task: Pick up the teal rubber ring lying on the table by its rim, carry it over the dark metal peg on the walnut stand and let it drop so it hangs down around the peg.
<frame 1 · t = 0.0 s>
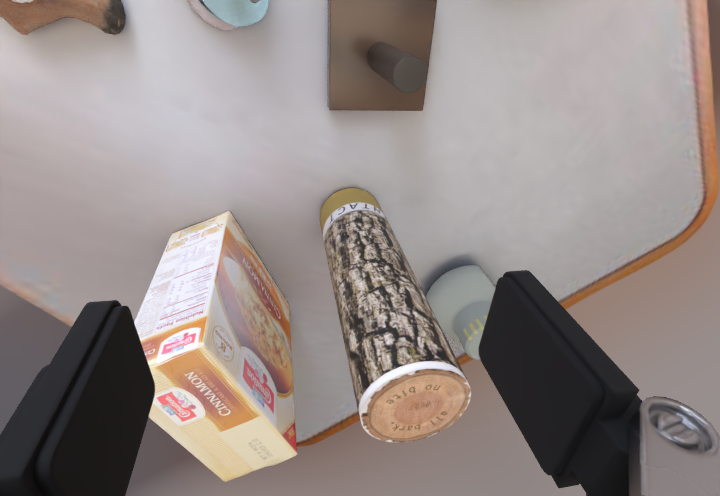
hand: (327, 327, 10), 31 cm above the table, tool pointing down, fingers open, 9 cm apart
patterned cylinder: (349, 212, 44), on the table
coffeecake box: (235, 271, 46), on the table
peg stand: (377, 55, 36), on the table
air freshener: (456, 288, 53), on the table
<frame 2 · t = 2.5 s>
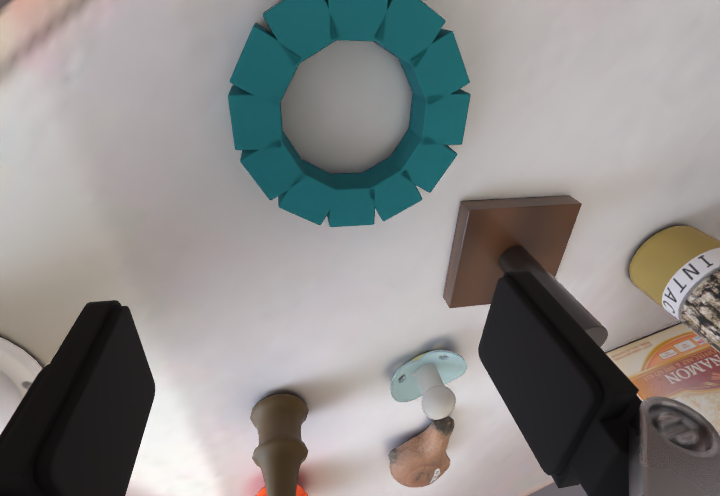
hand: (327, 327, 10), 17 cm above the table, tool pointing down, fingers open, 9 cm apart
patterned cylinder: (657, 253, 36), on the table
coffeecake box: (660, 346, 44), on the table
kendama: (279, 405, 38), on the table
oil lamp: (420, 437, 45), on the table
pacifier: (424, 365, 38), on the table
peg stand: (503, 248, 32), on the table
ring: (347, 110, 24), on the table
clementine: (279, 485, 45), on the table
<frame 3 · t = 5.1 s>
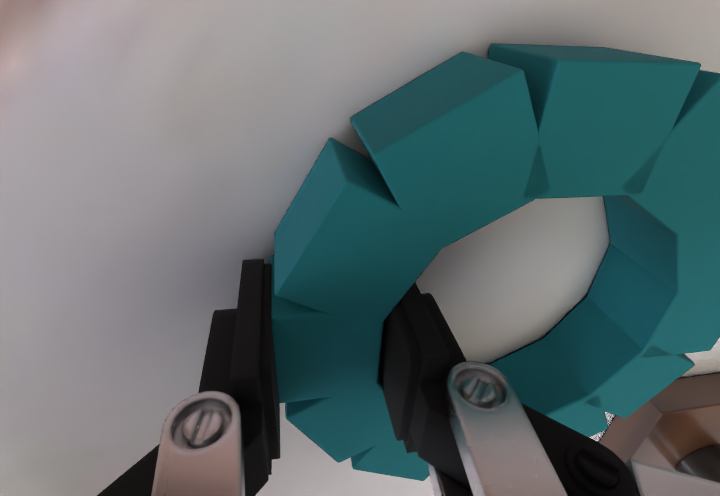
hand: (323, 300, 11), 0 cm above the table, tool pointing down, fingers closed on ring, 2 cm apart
peg stand: (673, 431, 21), on the table
ring: (486, 278, 13), on the table, touching gripper
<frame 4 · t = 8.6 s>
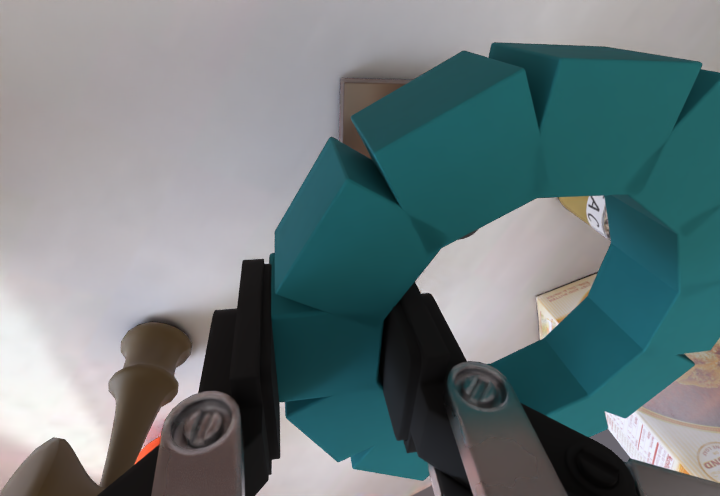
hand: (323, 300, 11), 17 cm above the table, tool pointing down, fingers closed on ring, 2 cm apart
patterned cylinder: (590, 170, 32), on the table
coffeecake box: (604, 291, 40), on the table
kendama: (159, 338, 33), on the table
peg stand: (402, 148, 28), on the table
ring: (486, 278, 13), point 17 cm above the table, touching gripper
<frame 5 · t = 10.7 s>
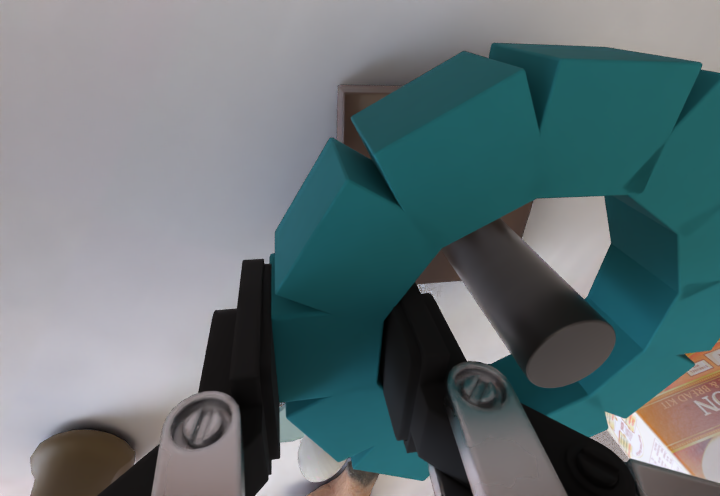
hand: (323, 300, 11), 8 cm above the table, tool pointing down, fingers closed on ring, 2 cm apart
coffeecake box: (682, 355, 31), on the table
kendama: (90, 445, 24), on the table
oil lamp: (337, 482, 31), on the table
pacifier: (324, 382, 25), on the table
peg stand: (430, 187, 19), on the table
ring: (486, 278, 13), point 7 cm above the table, touching gripper
when the fingers open (2 cm above the table, at t = 12.6 s): ring stays where it is, resting on peg stand.
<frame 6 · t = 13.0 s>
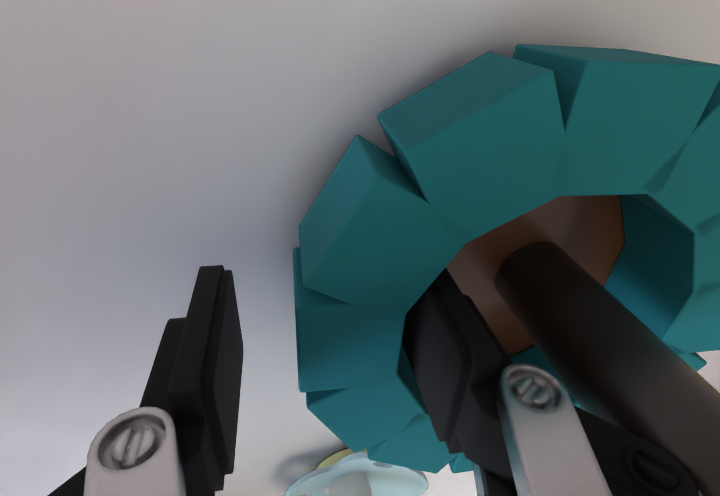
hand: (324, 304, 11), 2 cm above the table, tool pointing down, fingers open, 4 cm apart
pacifier: (353, 464, 20), on the table
peg stand: (508, 248, 14), on the table
ring: (502, 275, 13), point 1 cm above the table, touching peg stand
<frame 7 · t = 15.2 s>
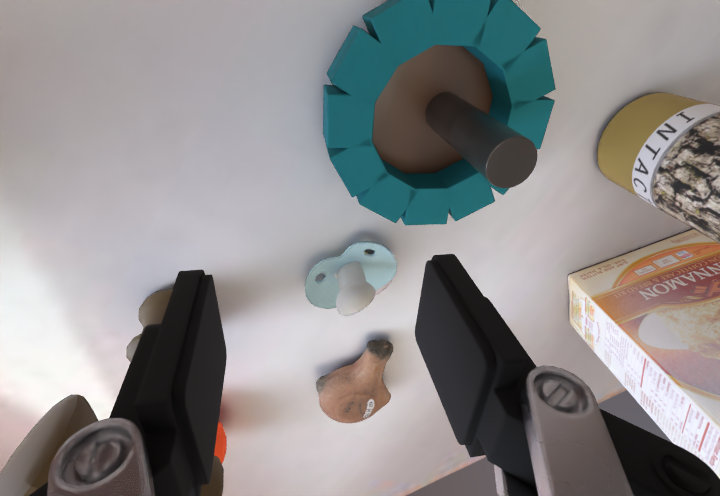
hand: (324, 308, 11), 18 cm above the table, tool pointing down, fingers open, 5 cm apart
patterned cylinder: (633, 136, 30), on the table
coffeecake box: (640, 271, 38), on the table
kendama: (178, 308, 32), on the table
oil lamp: (357, 368, 39), on the table
pacifier: (352, 269, 33), on the table
peg stand: (436, 106, 26), on the table
ring: (428, 112, 25), point 1 cm above the table, touching peg stand
clementine: (194, 417, 39), on the table
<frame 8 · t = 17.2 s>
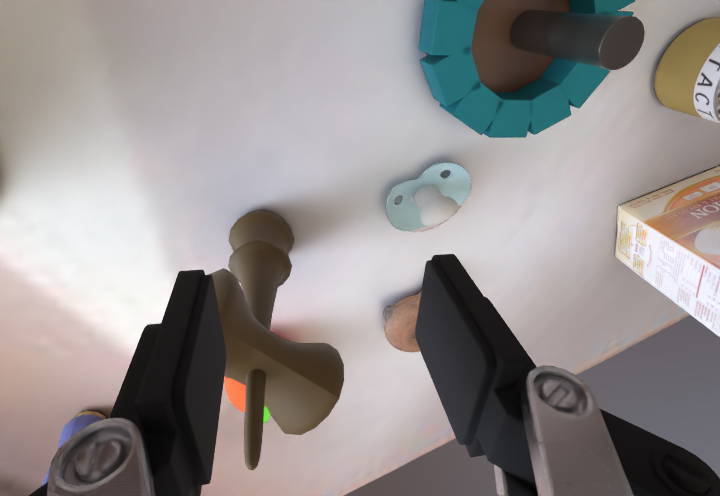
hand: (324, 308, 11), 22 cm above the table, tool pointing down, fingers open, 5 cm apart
patterned cylinder: (686, 64, 33), on the table
coffeecake box: (682, 204, 41), on the table
kendama: (262, 233, 34), on the table
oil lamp: (417, 301, 41), on the table
pacifier: (424, 195, 35), on the table
rubber mallet: (92, 416, 42), on the table
peg stand: (515, 28, 28), on the table
ring: (513, 30, 27), point 1 cm above the table, touching peg stand
clementine: (263, 351, 41), on the table
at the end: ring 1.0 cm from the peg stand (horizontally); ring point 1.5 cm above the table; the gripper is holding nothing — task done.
